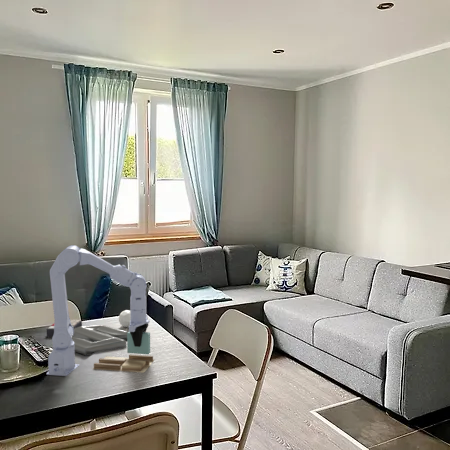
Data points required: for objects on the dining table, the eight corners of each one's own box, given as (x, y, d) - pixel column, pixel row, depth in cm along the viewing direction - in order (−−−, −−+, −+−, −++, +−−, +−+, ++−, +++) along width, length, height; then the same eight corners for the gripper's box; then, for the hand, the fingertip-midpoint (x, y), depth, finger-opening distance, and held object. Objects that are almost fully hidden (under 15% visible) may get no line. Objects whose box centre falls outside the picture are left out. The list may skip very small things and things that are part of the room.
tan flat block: (140, 371, 162) (140, 368, 162) (121, 369, 164) (121, 367, 164) (145, 365, 167) (145, 363, 167) (126, 364, 168) (126, 362, 168)
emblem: (48, 342, 180) (77, 320, 207) (48, 355, 180) (78, 332, 208) (118, 345, 177) (139, 323, 205) (119, 358, 177) (139, 335, 205)
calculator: (82, 319, 216) (71, 327, 201) (82, 328, 216) (71, 337, 201) (58, 319, 216) (46, 327, 201) (58, 328, 216) (46, 337, 201)
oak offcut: (140, 368, 162) (140, 366, 162) (121, 367, 164) (121, 365, 163) (145, 363, 167) (145, 361, 167) (126, 362, 168) (126, 359, 168)
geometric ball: (130, 333, 214) (132, 322, 209) (114, 326, 215) (116, 315, 210) (137, 321, 220) (139, 310, 215) (122, 314, 221) (123, 304, 216)
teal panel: (148, 354, 169) (148, 334, 168) (127, 352, 170) (127, 332, 170) (150, 352, 171) (150, 332, 170) (129, 350, 172) (129, 331, 171)
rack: (144, 375, 161) (144, 368, 161) (92, 371, 164) (92, 364, 164) (154, 362, 173) (154, 355, 173) (106, 358, 176) (106, 352, 176)
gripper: (142, 314, 161) (142, 352, 163) (155, 303, 176) (155, 339, 177) (122, 313, 162) (123, 351, 164) (137, 303, 177) (137, 337, 178)
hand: (138, 345), depth 170 cm, fingers closed on teal panel, 2 cm apart
